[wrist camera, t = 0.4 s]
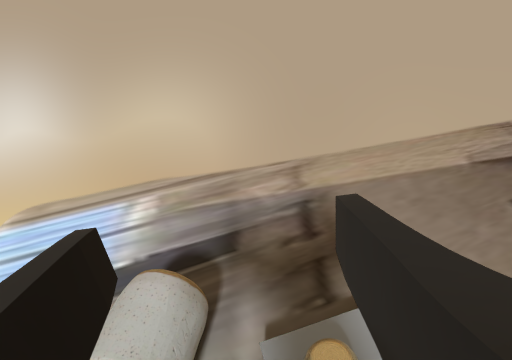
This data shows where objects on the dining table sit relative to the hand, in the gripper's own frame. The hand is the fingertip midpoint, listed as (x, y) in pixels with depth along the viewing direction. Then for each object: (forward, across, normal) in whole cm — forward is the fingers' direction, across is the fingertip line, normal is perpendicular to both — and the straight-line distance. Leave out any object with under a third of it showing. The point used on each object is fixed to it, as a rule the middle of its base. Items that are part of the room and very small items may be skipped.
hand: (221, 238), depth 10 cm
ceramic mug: (+10, +9, +19) cm, 23 cm away
